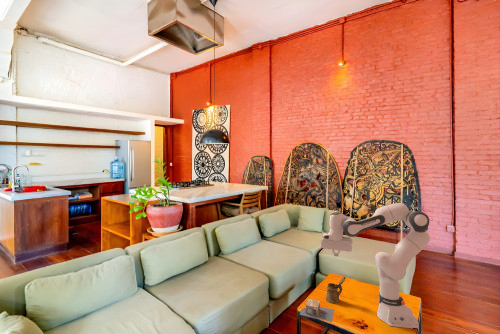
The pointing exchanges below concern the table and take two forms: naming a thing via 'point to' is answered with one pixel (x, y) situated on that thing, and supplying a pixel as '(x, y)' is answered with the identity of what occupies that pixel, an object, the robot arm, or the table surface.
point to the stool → (313, 305)
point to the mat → (319, 313)
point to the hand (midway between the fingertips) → (336, 256)
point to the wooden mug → (334, 291)
